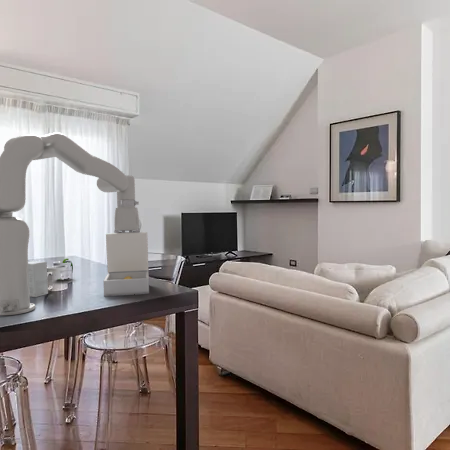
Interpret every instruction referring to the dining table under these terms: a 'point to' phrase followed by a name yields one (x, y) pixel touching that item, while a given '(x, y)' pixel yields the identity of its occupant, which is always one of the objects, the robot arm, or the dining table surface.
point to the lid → (127, 252)
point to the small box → (37, 278)
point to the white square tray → (126, 283)
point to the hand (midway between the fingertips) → (127, 246)
